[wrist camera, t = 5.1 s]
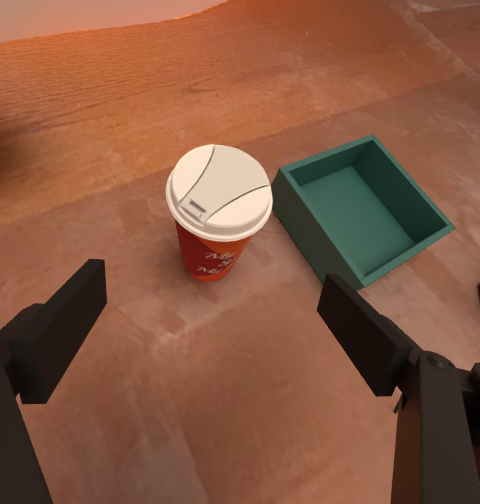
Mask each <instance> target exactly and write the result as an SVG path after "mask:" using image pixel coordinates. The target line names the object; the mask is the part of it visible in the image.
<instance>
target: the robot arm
mask: <svg viewBox="0 0 480 504" xmlns="http://www.w3.org/2000/svg"><path fill="white" fill-rule="evenodd" d="M106 304H107V295H106V278H105V261H104V260H101V259H89V260H88V261H87V262H86V263H85V264H84V265H83V266H82V267H81V268H80V269H79V270H78V271H77V272H76V273H75V274H74V275H73V276H72V277H71V278H70V279H69V280H68V281H67V282H66V283H65V284H64V285H63V286H62V287H61V288H60V289H59V290H58V291H57V292H56V293H55V294H54V295H53V296H52V297H51V298H50V299H49V300H48V301H47V302H46V303H45V304H37V303H35V304H33V305H31V306H29V307H27V308H25V309H23V310H22V311H21V312H19V313H18V314H17V315H16V316H15V317H14V319H12V320H11V321H10V322H9V323H7V324H6V326H4V327H3V328H2V329H1V330H0V504H53V501H52V498H51V496H50V493H49V490H48V487H47V484H46V482H45V479H44V476H43V473H42V471H41V468H40V465H39V462H38V459H37V457H36V454H35V451H34V448H33V446H32V443H31V440H30V437H29V434H28V432H27V429H26V426H25V423H24V421H23V418H22V415H21V412H20V409H19V407H18V404H17V401H16V398H15V397H16V396H17V395H18V393H20V397H21V402H22V404H46V403H47V401H48V400H49V398H50V396H51V395H52V393H53V391H54V390H55V388H56V386H57V385H58V383H59V381H60V380H61V378H62V376H63V375H64V373H65V371H66V370H67V368H68V366H69V365H70V363H71V361H72V360H73V358H74V357H75V355H76V353H77V352H78V350H79V348H80V347H81V345H82V343H83V342H84V340H85V338H86V337H87V335H88V333H89V332H90V330H91V328H92V327H93V325H94V323H95V322H96V320H97V318H98V317H99V315H100V314H101V312H102V310H103V309H104V307H105V305H106ZM317 312H318V313H319V315H320V316H321V317H322V319H323V320H324V322H325V323H326V325H327V326H328V328H329V329H330V330H331V332H332V333H333V335H334V336H335V338H336V339H337V341H338V342H339V344H340V345H341V346H342V348H343V349H344V351H345V352H346V354H347V355H348V357H349V358H350V360H351V361H352V362H353V364H354V365H355V367H356V368H357V370H358V371H359V373H360V374H361V376H362V377H363V378H364V380H365V381H366V383H367V384H368V386H369V387H370V389H371V390H372V392H373V393H374V394H375V396H376V397H379V396H392V394H393V392H394V389H395V387H396V386H397V387H398V388H399V389H400V391H401V392H402V394H401V396H400V399H399V401H398V403H397V405H396V407H395V410H394V413H397V411H398V420H397V432H396V444H395V456H394V468H393V480H392V492H391V504H480V483H479V482H480V363H475V364H474V366H473V368H472V369H471V371H467V370H463V369H459V368H456V367H455V365H454V364H453V363H452V362H451V361H449V360H448V359H447V358H445V357H443V356H441V355H439V354H437V353H434V352H431V351H424V350H423V349H421V348H420V347H419V346H418V345H417V344H416V343H415V342H414V341H413V340H412V339H411V338H410V337H409V336H408V335H406V334H404V332H403V331H402V330H401V329H400V328H399V327H398V326H397V325H396V324H395V323H394V322H392V321H391V320H390V319H388V318H386V317H385V316H383V315H380V314H379V313H378V312H377V311H376V310H375V309H374V308H373V307H372V306H371V305H370V304H369V303H368V302H367V301H366V300H365V299H363V298H362V297H361V296H360V295H359V294H358V293H357V292H356V291H355V290H354V289H353V288H352V287H351V286H350V285H349V284H348V283H347V282H346V281H345V280H344V279H343V278H342V277H340V276H339V275H338V274H331V273H327V274H326V277H325V281H324V285H323V289H322V292H321V296H320V300H319V304H318V307H317Z"/></svg>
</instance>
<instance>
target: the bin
mask: <svg viewBox="0 0 480 504" xmlns="http://www.w3.org/2000/svg"><path fill="white" fill-rule="evenodd" d="M271 192H272V198H273V203H272V209H273V211H274V212H275V214H276V215H277V216H278V218H279V219H280V221H281V222H282V224H283V225H284V227H285V228H286V230H287V231H288V233H289V234H290V236H291V237H292V239H293V240H294V242H295V243H296V245H297V246H298V248H299V249H300V251H301V252H302V254H303V255H304V257H305V258H306V260H307V261H308V263H309V264H310V266H311V267H312V269H313V270H314V272H315V273H316V275H317V276H318V277H319V279H320V280H321V282H322V283H323V285H324V281H325V277H326V274H327V273H331V274H338V275H339V276H340V277H342V278H343V279H344V280H345V281H346V282H347V283H348V284H349V285H350V286H351V287H352V288H353V289H354V290H355V291H358V290H360V289H362V288H364V287H366V286H368V285H369V284H371V283H372V282H374V281H375V280H377V279H379V278H380V277H382V276H383V275H385V274H386V273H388V272H389V271H391V270H392V269H394V268H396V267H397V266H399V265H400V264H402V263H403V262H405V261H406V260H408V259H409V258H411V257H413V256H414V255H416V254H417V253H419V252H420V251H422V250H423V249H425V248H426V247H428V246H430V245H431V244H433V243H434V242H436V241H437V240H439V239H440V238H442V237H443V236H445V235H447V234H448V233H450V232H451V231H453V230H454V229H456V228H455V227H454V225H453V224H452V223H451V222H450V221H449V220H448V218H447V217H446V216H445V215H444V214H443V213H442V212H441V210H440V209H439V208H438V207H437V206H436V205H435V204H434V202H433V201H432V200H431V199H430V198H429V197H428V196H427V195H426V193H425V192H424V191H423V190H422V189H421V188H420V187H419V185H418V184H417V183H416V182H415V181H414V180H413V179H412V178H411V176H410V175H409V174H408V173H407V172H406V171H405V170H404V168H403V167H402V166H401V165H400V164H399V163H398V162H397V160H396V159H395V158H394V157H393V156H392V155H391V154H390V153H389V151H388V150H387V149H386V148H385V147H384V146H383V145H382V143H381V142H380V141H379V140H378V139H377V138H376V137H375V136H374V134H371V135H369V136H366V137H363V138H360V139H358V140H355V141H352V142H349V143H347V144H344V145H341V146H338V147H336V148H333V149H330V150H328V151H325V152H322V153H319V154H317V155H314V156H311V157H308V158H306V159H303V160H300V161H298V162H295V163H292V164H289V165H287V166H284V167H281V168H279V170H278V172H277V174H276V177H275V179H274V181H273V183H272V185H271Z"/></svg>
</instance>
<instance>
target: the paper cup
mask: <svg viewBox="0 0 480 504" xmlns="http://www.w3.org/2000/svg"><path fill="white" fill-rule="evenodd" d="M166 199H167V203H168V206H169V209H170V211H171V213H172V215H173V216H174V217H175V222H176V228H177V233H178V238H179V243H180V249H181V253H182V258H183V262H184V265H185V268H186V269H187V271H188V272H189V274H190V275H192V276H193V277H194V278H196V279H198V280H200V281H205V282H212V281H216V280H219V279H221V278H222V277H224V276H225V275H226V274H227V273H228V272H229V270H230V269H231V268H232V266H233V265H234V263H235V262H236V260H237V259H238V257H239V255H240V254H241V252H242V251H243V249H244V248H245V246H246V245H247V243H248V241H249V240H250V238H251V237H252V235H253V234H254V233H255V232H257V231H258V230H259V229H260V228H261V227H262V226H263V225H264V224H265V223H266V221H267V220H268V218H269V215H270V213H271V210H272V203H273V198H272V192H271V186H270V183H269V180H268V177H267V175H266V173H265V171H264V169H263V168H262V166H261V165H260V164H259V163H258V162H257V161H256V160H255V159H254V158H252V157H251V156H250V155H248V154H247V153H245V152H243V151H241V150H239V149H236V148H233V147H228V146H222V145H205V146H201V147H198V148H196V149H193V150H191V151H190V152H188V153H187V154H185V155H184V156H183V157H182V158H181V159H180V160H179V162H178V163H177V164H176V166H175V168H174V170H173V171H172V172H171V174H170V176H169V178H168V181H167V185H166Z"/></svg>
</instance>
